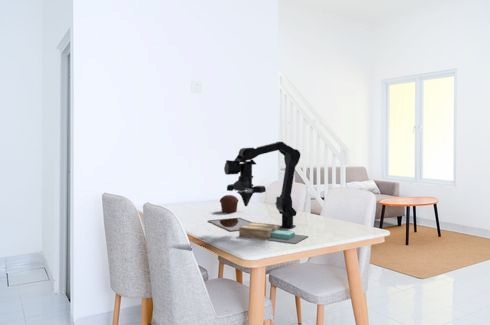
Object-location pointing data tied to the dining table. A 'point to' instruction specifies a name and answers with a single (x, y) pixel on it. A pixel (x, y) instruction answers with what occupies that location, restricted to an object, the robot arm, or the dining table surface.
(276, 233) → the teal rectangular block
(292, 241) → the mat
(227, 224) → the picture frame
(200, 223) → the dining table surface
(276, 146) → the robot arm
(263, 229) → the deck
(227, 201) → the muffin
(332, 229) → the dining table surface
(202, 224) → the dining table surface
